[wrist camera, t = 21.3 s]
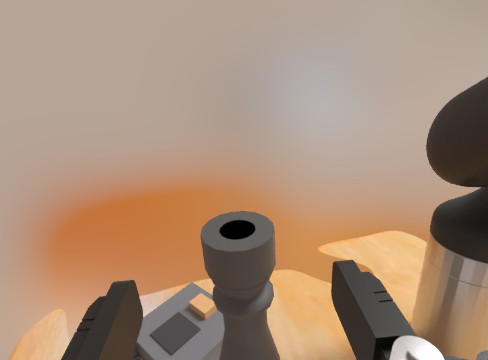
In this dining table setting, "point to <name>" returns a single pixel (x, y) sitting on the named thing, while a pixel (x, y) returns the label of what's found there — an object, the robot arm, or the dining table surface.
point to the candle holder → (242, 281)
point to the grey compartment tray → (182, 328)
